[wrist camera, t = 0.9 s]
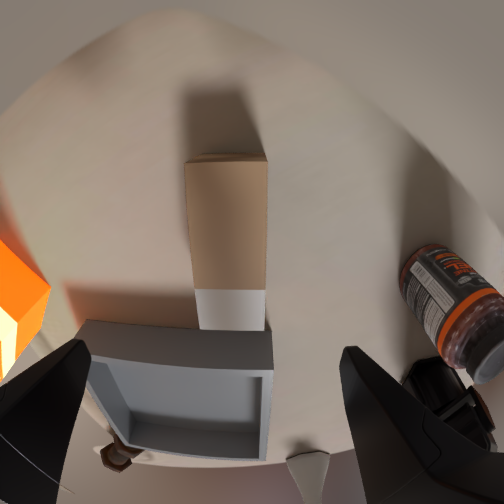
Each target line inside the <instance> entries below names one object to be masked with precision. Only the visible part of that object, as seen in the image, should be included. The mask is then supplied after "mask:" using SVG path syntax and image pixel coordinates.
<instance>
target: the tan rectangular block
mask: <svg viewBox="0 0 504 504" xmlns="http://www.w3.org/2000/svg"><path fill="white" fill-rule="evenodd" d="M184 170H185V188H186V203H187V216H188V229H189V240H190V251H191V261H192V270H193V279H194V288H195V296H196V304H197V312H198V319H199V327H200V329H204V330H235V331H264V321H265V285H266V239H267V171H268V161H267V158H266V155H265V153H211V154H201V155H199V156H197V157H195V158H194V159H192V160H190V161H188V162H186V163H184Z"/></svg>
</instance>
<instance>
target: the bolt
mask: <svg viewBox="0 0 504 504" xmlns="http://www.w3.org/2000/svg"><path fill="white" fill-rule="evenodd" d="M113 438H114V443H113V442H112V443H111V444H109V445H107V446H106V447H104V448H103V449H101V450H100V454H101V458H102V462H103V464H104V466H105V467H107V468H109V469H111V470H113V471H116V472H119V473H120V472H122V471H123V470H124V469H126V468H127V467H128V466H130V465H131V464H132V462H131V459H130V458H135V457H136V456H138V455H139V454H140V453H142V452H143V451H144V449H139V448H135V447H130V446H126V445H125V444H124V443H123V442H122V441H121V439H120V438H119V436H118V435H117V434H115V435H114V437H113Z"/></svg>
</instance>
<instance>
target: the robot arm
mask: <svg viewBox="0 0 504 504" xmlns="http://www.w3.org/2000/svg"><path fill="white" fill-rule="evenodd" d="M91 361H92V357H91V354H90V352H89V350H88V348H87V345H86V343H85V341H84V340H82V339H77V338H73V339H71V340H70V341H68V342H67V343H65V344H64V345H62V346H61V347H59V348H58V349H56V350H55V351H53V352H52V353H50V354H49V355H47V356H45V357H44V358H42V359H41V360H40V361H38V362H37V363H35V364H33V365H32V366H30V367H29V368H28V369H26V370H25V371H23V372H22V373H20V374H19V375H17V376H16V377H14V378H13V379H11V380H10V381H8V383H5V384H4V385H2V386H1V387H0V504H56V500H57V495H58V489H59V483H60V479H61V474H62V470H63V465H64V461H65V457H66V453H67V449H68V445H69V442H70V438H71V434H72V431H73V427H74V424H75V420H76V417H77V414H78V411H79V408H80V404H81V401H82V398H83V395H84V391H85V386H86V382H87V378H88V374H89V369H90V365H91ZM339 370H340V377H341V384H342V391H343V398H344V405H345V411H346V415H347V419H348V423H349V427H350V431H351V435H352V439H353V443H354V447H355V451H356V456H357V460H358V464H359V469H360V473H361V478H362V482H363V487H364V491H365V496H366V501H367V504H504V453H499V452H497V444H496V442H495V440H494V437H493V435H492V433H491V432H492V431H493V430H495V429H496V428H495V425H494V422H493V420H492V417H491V415H490V412H489V410H488V407H487V405H486V404H485V402H484V401H483V399H482V397H481V395H480V394H479V393H478V392H477V391H476V389H475V388H474V387H473V386H472V385H471V386H469V387H468V389H466V388H465V386H464V384H463V382H462V381H461V379H460V377H459V376H458V374H457V372H456V371H455V369H454V368H452V367H450V366H449V365H447V364H446V362H445V361H444V360H443V358H442V357H436V358H432V359H426V360H421V361H417V362H416V363H415V364H414V365H413V368H412V370H411V372H410V374H409V375H408V377H407V379H406V381H405V383H404V385H403V386H402V385H401V384H400V383H398V382H397V381H396V380H395V379H394V378H393V377H392V376H391V375H389V374H388V373H387V372H386V371H385V370H384V369H383V368H382V367H380V366H379V365H378V364H377V363H376V362H375V361H374V360H372V359H371V358H370V357H369V356H368V355H367V354H366V353H365V352H363V351H362V350H361V349H360V348H359V347H358V346H346V347H345V348H344V350H343V353H342V357H341V361H340V365H339ZM474 404H476V406H474V407H473V405H474Z"/></svg>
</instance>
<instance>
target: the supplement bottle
mask: <svg viewBox="0 0 504 504" xmlns="http://www.w3.org/2000/svg"><path fill="white" fill-rule="evenodd" d="M400 291H401V295H402V297H403V298H404V300H405V301H406V303H407V305H408V306H409V307H410V309H411V310H412V312H413V313H414V315H415V316H416V318H417V319H418V321H419V322H420V324H421V325H422V327H423V328H424V330H425V331H426V333H427V335H428V336H429V338H430V339H431V341H432V343H433V344H434V346H435V347H436V349H437V351H439V353H440V355H441V357H442V358H443V360H444V361H445V362H446V364H447V365H449V366H450V367H452V368H455V369H464V368H466V371H467V373H468V374H469V375H470V376H471V378H472V380H473V381H474V383H476V384H479V385H480V384H484V383H486V382H489V381H490V380H492V379H493V378H495V377H496V376H498V375H499V373H501V372H502V371H503V370H504V297H503V296H502V295H501V294H500V293H499V292H498V291H497V290H496V289H495V288H494V287H493V286H492V285H490V284H489V283H488V282H487V281H486V280H485V279H484V278H483V277H482V276H480V275H479V274H478V273H477V272H476V271H475V270H474V269H473V268H472V267H470V266H469V265H468V264H467V263H466V262H465V261H463V260H462V259H461V258H460V257H459V256H458V255H456V254H455V253H454V252H452V251H451V250H450V249H448V248H447V247H445V246H443V245H440V244H432V245H428V246H425V247H423V248H421V249H419V250H418V251H417V252H416V253H414V254H413V255H412V256H411V258H410V259H409V260H408V261H407V263H406V265H405V266H404V268H403V270H402V273H401V277H400Z"/></svg>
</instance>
